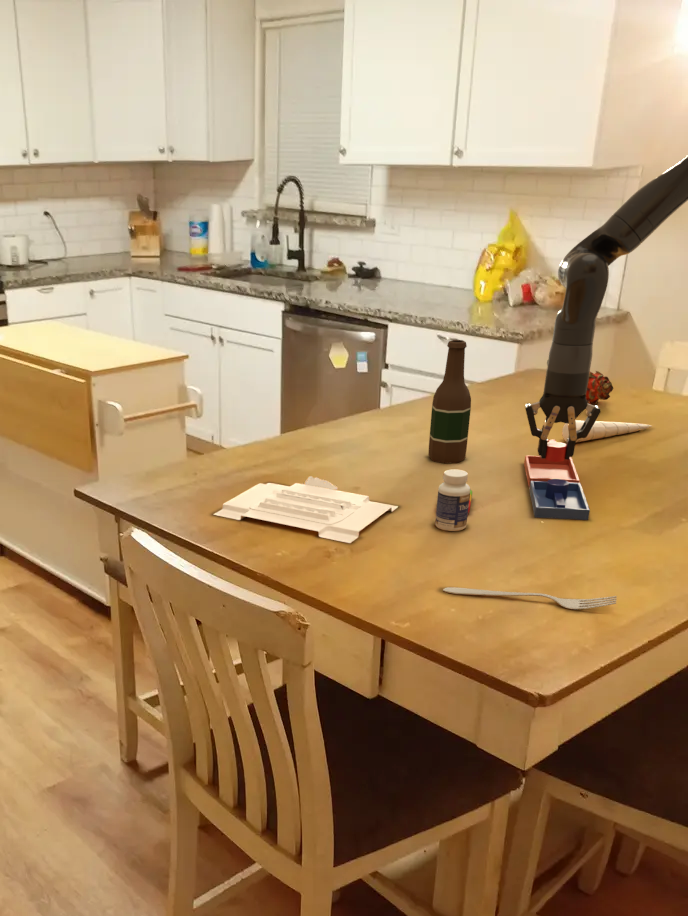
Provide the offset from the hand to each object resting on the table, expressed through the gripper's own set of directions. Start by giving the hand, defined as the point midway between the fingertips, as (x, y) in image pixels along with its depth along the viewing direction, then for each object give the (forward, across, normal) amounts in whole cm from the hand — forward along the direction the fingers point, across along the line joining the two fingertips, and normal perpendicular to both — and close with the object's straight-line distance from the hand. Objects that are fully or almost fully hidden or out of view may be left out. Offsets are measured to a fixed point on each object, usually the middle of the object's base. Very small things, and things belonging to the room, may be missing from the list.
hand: (554, 457), depth 182 cm
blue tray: (+5, 0, -13) cm, 14 cm away
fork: (+5, -8, -54) cm, 55 cm away
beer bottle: (+5, -20, +13) cm, 24 cm away
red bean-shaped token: (0, 0, +3) cm, 3 cm away
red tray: (+5, 0, +3) cm, 6 cm away
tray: (+5, -45, -22) cm, 51 cm away
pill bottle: (+5, -19, -26) cm, 33 cm away
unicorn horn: (+5, +14, +33) cm, 37 cm away
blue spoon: (+5, 0, -13) cm, 14 cm away
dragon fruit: (+5, +13, +62) cm, 63 cm away
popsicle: (+5, -18, -13) cm, 23 cm away
